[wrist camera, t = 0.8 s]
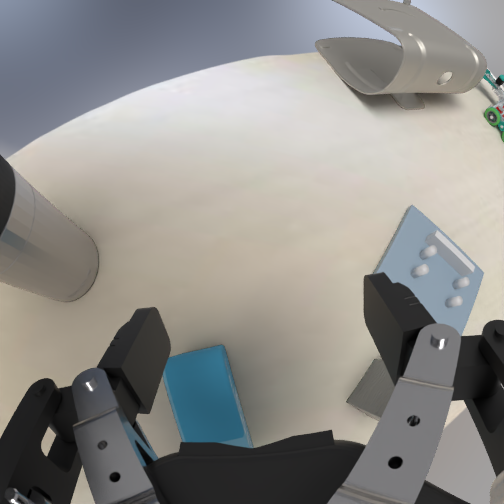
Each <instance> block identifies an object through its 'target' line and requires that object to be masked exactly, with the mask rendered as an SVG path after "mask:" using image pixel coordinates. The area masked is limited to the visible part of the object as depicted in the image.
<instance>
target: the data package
mask: <svg viewBox="0 0 504 504" xmlns="http://www.w3.org/2000/svg"><path fill="white" fill-rule="evenodd" d="M163 379H164V383H165V387H166V390H167V394H168V397H169V401H170V404H171V407H172V411H173V414H174V417H175V420H176V423H177V426H178V429H179V432H180V435H181V438H182V441H183V442H218V443H223V444H229V445H234V446H240V447H247V448H253V444H252V441H251V437H250V434H249V430H248V427H247V424H246V421H245V417H244V414H243V411H242V407H241V404H240V400H239V397H238V393H237V390H236V386H235V383H234V379H233V376H232V372H231V368H230V365H229V361H228V357H227V354H226V350H225V347H224V346H223V345H218V346H214V347H210V348H205V349H201V350H197V351H192V352H187V353H183V354H180V355H176V356H173V357H169V358H168V360H167V363H166V366H165V369H164V372H163Z"/></svg>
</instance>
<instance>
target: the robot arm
mask: <svg viewBox="0 0 504 504" xmlns="http://www.w3.org/2000/svg"><path fill="white" fill-rule="evenodd" d="M98 260H99V258H98V251H97V248H96V246H95V243H94V242H93V240H92V239H91V238H90V237H89V236H88V235H87V234H86V233H85V232H84V231H83V230H81V229H80V228H79V227H78V226H77V225H75V224H74V223H73V222H72V221H71V220H70V219H69V218H67V217H66V216H65V215H64V214H63V213H62V212H60V211H59V210H58V209H57V208H56V207H55V206H54V205H53V204H51V203H50V202H49V201H48V200H47V199H46V198H45V197H44V196H42V195H41V194H40V193H39V192H38V191H37V190H36V189H35V188H34V187H33V186H32V185H31V184H29V183H28V182H27V181H26V180H25V179H24V178H23V177H22V176H21V175H20V174H19V173H18V172H17V171H16V170H15V169H14V168H13V167H12V166H10V164H9V163H8V162H7V161H6V160H5V159H4V158H3V157H2V156H1V155H0V282H3V283H6V284H9V285H11V286H14V287H17V288H20V289H23V290H26V291H29V292H32V293H35V294H38V295H41V296H44V297H48V298H51V299H54V300H58V301H63V302H69V301H73V300H76V299H78V298H80V297H81V296H82V295H84V294H85V293H86V292H87V291H88V290H89V288H90V287H91V285H92V284H93V282H94V280H95V277H96V275H97V270H98ZM364 318H365V323H366V326H367V328H368V330H369V332H370V334H371V336H372V338H373V340H374V342H375V345H376V347H377V349H378V351H379V353H380V355H381V357H382V360H383V362H384V364H385V366H386V368H387V370H388V373H389V375H390V377H391V379H392V382H393V384H394V386H396V387H395V389H394V391H393V393H392V396H391V398H390V400H389V402H388V404H387V406H386V409H385V411H384V413H383V415H382V417H381V419H380V421H379V423H378V425H377V427H376V429H375V431H374V432H373V434H372V436H371V438H370V440H369V442H368V444H367V445H363V444H360V443H356V442H352V441H345V440H334V438H333V433H332V430H328V431H323V432H317V433H311V434H304V435H297V436H292V437H289V438H286V439H283V440H280V441H277V442H274V443H271V444H268V445H264V446H261V447H257V448H247V447H240V446H234V445H229V444H223V443H218V442H181V444H180V449H179V452H177V453H173V454H169V455H167V456H164V457H161V458H159V459H158V457H157V456H156V454H155V452H154V451H153V449H152V447H151V445H150V443H149V442H148V440H147V438H146V436H145V434H144V432H143V430H142V428H141V426H140V424H139V423H138V421H137V420H136V416H137V413H140V414H150V411H151V408H152V405H153V402H154V399H155V396H156V393H157V390H158V387H159V384H160V381H161V378H162V375H163V372H164V369H165V366H166V363H167V360H168V357H169V355H170V351H171V345H170V339H169V337H168V334H167V332H166V329H165V327H164V324H163V322H162V319H161V317H160V314H159V312H158V310H157V308H155V307H150V308H141V309H137V310H136V311H135V313H134V314H133V316H132V318H131V319H130V321H129V322H127V323H126V324H125V325H123V326H122V327H121V328H120V329H119V330H118V332H117V333H116V335H115V337H114V340H112V342H111V343H110V347H108V349H107V350H106V352H105V354H104V355H103V357H102V359H101V361H100V362H99V364H98V366H97V368H91V369H88V370H85V371H83V372H82V373H80V374H79V375H78V376H77V377H76V378H75V379H74V381H73V383H72V386H68V387H64V388H59V389H58V387H57V386H56V384H55V383H54V382H53V380H51V379H49V378H44V379H41V380H38V381H37V382H35V383H34V384H32V385H31V386H30V388H29V389H28V391H27V392H26V394H25V396H24V397H23V399H22V401H21V402H20V404H19V406H18V407H17V409H16V411H15V413H14V414H13V416H12V418H11V420H10V422H9V423H8V425H7V427H6V429H5V431H4V433H3V434H2V436H1V438H0V504H70V503H71V500H72V496H73V493H74V490H75V487H76V483H77V480H78V477H79V474H80V471H81V468H82V465H83V468H84V472H85V475H86V478H87V481H88V484H89V487H90V490H91V493H92V495H93V498H94V501H95V503H96V504H470V503H468V502H466V501H464V500H461V499H460V498H458V497H456V496H454V495H452V494H450V493H448V492H446V491H444V490H443V489H441V488H439V487H437V486H435V485H433V484H431V483H430V482H428V481H426V480H425V478H426V476H427V474H428V471H429V469H430V466H431V463H432V461H433V458H434V455H435V453H436V450H437V447H438V443H439V441H440V438H441V435H442V432H443V428H444V425H445V422H446V418H447V415H448V411H449V407H450V403H451V401H456V400H464V402H465V404H466V406H467V408H468V410H469V412H470V414H471V416H472V419H473V421H474V423H475V425H476V427H477V429H478V432H479V434H480V436H481V439H482V441H483V444H484V446H485V448H486V451H487V453H488V456H489V458H490V461H491V463H492V466H493V469H494V472H495V474H496V479H495V480H494V481H493V483H492V486H491V489H490V504H504V389H503V388H502V386H501V383H502V385H503V387H504V321H503V320H493V321H490V322H488V323H487V324H486V325H485V326H484V328H483V331H482V335H475V336H460V334H459V333H458V331H457V330H456V329H454V328H453V327H451V326H449V325H446V324H440V323H437V322H436V321H435V320H434V318H433V317H432V316H431V315H430V313H429V312H428V311H427V310H426V308H425V307H424V306H423V305H422V303H420V301H419V300H418V298H417V297H415V295H414V293H413V292H412V291H411V290H410V289H409V288H408V287H407V286H405V285H403V284H401V283H399V282H396V283H392V281H391V280H390V279H389V277H388V276H387V275H386V274H385V273H384V272H381V273H376V274H370V275H365V277H364ZM48 426H49V427H50V428H51V429H52V430H53V432H54V433H55V434H56V437H55V439H54V442H53V444H52V446H51V449H50V451H49V453H48V456H47V457H46V456H45V455H44V454H43V452H42V449H41V441H42V439H43V437H44V435H45V433H46V430H47V428H48Z"/></svg>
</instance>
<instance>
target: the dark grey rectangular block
mask: <svg viewBox="0 0 504 504" xmlns="http://www.w3.org/2000/svg"><path fill="white" fill-rule="evenodd" d="M395 387H396V386H394V384H393V382H392V379H391V377H390V375H389V373H388V370H387V368H386V366H385V364H384V362H383V360H380V359H374V361H373V362H372V364H371V365H370V367H369V369H368V370H367V372H366V373H365V375H364V376H363V378H362V379H361V381H360V382H359V384H358V385H357V387H356V388H355V390H354V391H353V393H352V394H351V396H350V397H349V398H348V400H347V401H346V402H347V403H349V404H351V405H352V406H354V407H355V408H357V409H358V410H360V411H361V412H363V413H365V414H366V415H368V416H369V417H371V418H374V419H376V420H378V421H380V419H381V417H382V415H383V413H384V411H385V409H386V406H387V404H388V402H389V400H390V398H391V396H392V393H393V391H394V389H395Z"/></svg>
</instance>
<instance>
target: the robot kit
mask: <svg viewBox="0 0 504 504" xmlns="http://www.w3.org/2000/svg"><path fill="white" fill-rule="evenodd" d="M483 78H484V79H485V80H487V81H488V82H489V83H490V84H491V85H492V86H493V89H496V90H495V91H496V92H495V91H494V93H495V94H496V95H497V96H498V98H499V101H498V103H497V104H496V105H494V106H493V107H492V106H491V105H490V106H489V107H488V108H487V109H486V111H485V118H486V120H487V121H488V122H489V123H490V124H491V125H493V126H496V125H498V127H499V130H501V131H503V133H502V140H503V142H504V114H503V113H504V91H503V90H502V89H501V88H500V85H502V84H503V83H504V75H500V76H499V77H498V79H497V80H495V79H494V78H493V77H492V75H491V74H490V71H489V70H488V69H487V70H486V75H484V76H483ZM498 88H499V89H498ZM493 89H492V90H493ZM499 95H500V96H499ZM495 119H496V120H495ZM501 120H502V121H501Z"/></svg>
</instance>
